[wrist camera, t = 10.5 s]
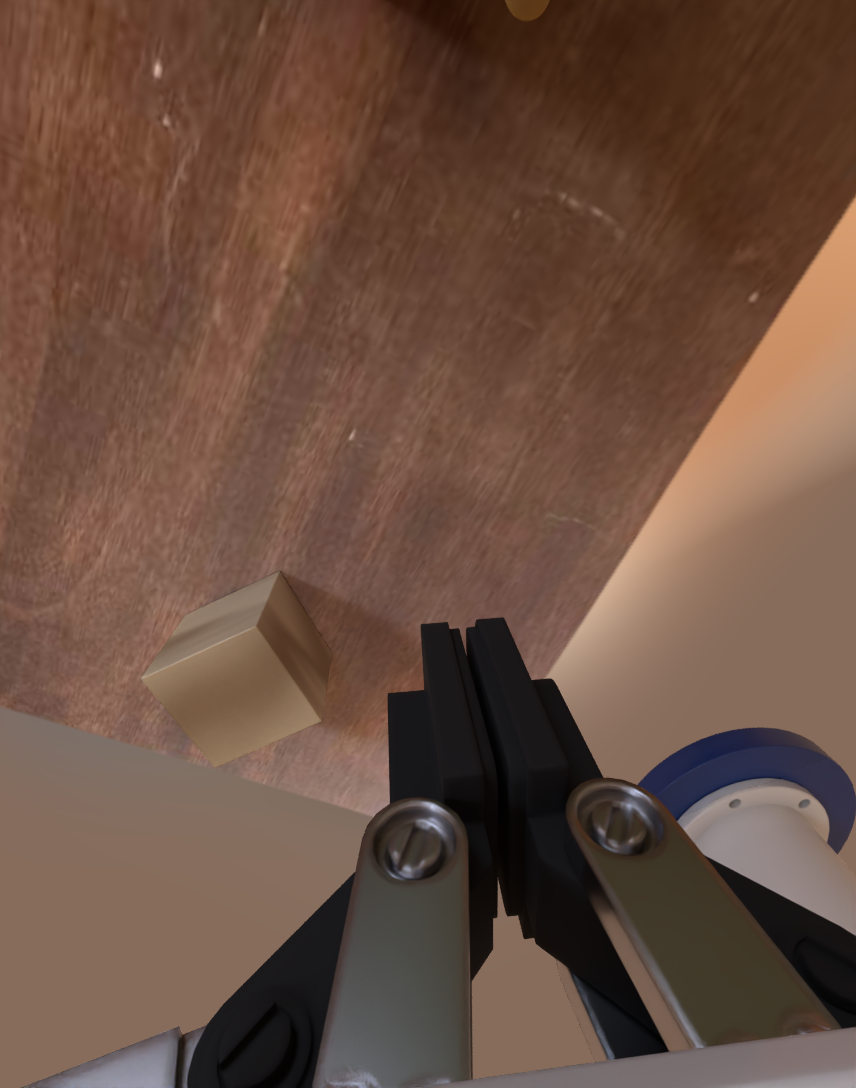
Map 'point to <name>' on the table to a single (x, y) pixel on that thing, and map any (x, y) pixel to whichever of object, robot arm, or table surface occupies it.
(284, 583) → the block
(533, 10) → the cupboard door
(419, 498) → the table surface
